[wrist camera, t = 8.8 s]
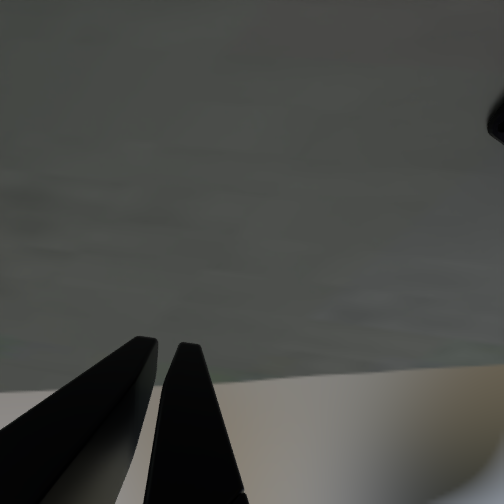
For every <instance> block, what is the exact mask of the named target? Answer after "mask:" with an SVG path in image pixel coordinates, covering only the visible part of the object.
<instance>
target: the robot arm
mask: <svg viewBox="0 0 504 504" xmlns="http://www.w3.org/2000/svg"><path fill="white" fill-rule="evenodd" d="M502 121H503V122H504V104H503V105H502V107H501V108H500V109H499V110H498V112H497V113H496V114H495V115H494V116H493V118H492V119H491V120H490V122H489V124H488V127H487V130H488V133H489V134H490V135H491V136H492V137H493V138H495V139H496V140H498V141H499V142H500V143H502V144H503V145H504V127H503V129H502V130H501V131H498V125H499V124H500V123H501V122H502ZM157 357H158V341H157V339H156V338H151V337H144V336H137V337H134V338H133V339H132V340H130V341H129V342H127V343H126V344H124V345H123V346H121V347H120V348H118V349H117V350H116V351H114V352H113V353H111V354H110V355H108V356H107V357H105V358H104V359H103V360H101V361H100V362H98V363H97V364H95V365H94V366H92V367H91V368H89V369H88V370H87V371H85V372H84V373H82V374H81V375H79V376H78V377H76V378H75V379H74V380H72V381H71V382H69V383H68V384H66V385H65V386H63V387H62V388H60V389H59V390H58V391H56V392H55V393H53V394H52V395H50V396H49V397H48V398H46V399H45V400H43V401H42V402H40V403H39V404H37V405H36V406H34V407H33V408H32V409H30V410H29V411H27V412H26V413H24V414H23V415H21V416H20V417H18V418H17V419H16V420H14V421H13V422H11V423H10V424H8V425H7V426H5V427H4V428H2V429H1V430H0V504H115V502H116V499H117V497H118V494H119V492H120V489H121V487H122V484H123V482H124V480H125V477H126V475H127V472H128V469H129V467H130V464H131V461H132V459H133V456H134V453H135V450H136V446H137V443H138V439H139V436H140V432H141V429H142V425H143V422H144V418H145V415H146V411H147V408H148V404H149V401H150V397H151V394H152V390H153V386H154V383H155V379H156V372H157ZM143 504H249V502H248V498H247V495H246V494H245V493H244V486H243V483H242V480H241V476H240V473H239V470H238V467H237V463H236V460H235V457H234V454H233V450H232V447H231V444H230V440H229V437H228V434H227V430H226V427H225V424H224V420H223V417H222V414H221V411H220V407H219V404H218V401H217V398H216V394H215V391H214V388H213V384H212V381H211V378H210V375H209V371H208V368H207V365H206V361H205V358H204V355H203V352H202V348H201V346H200V345H199V344H193V343H186V342H182V343H180V344H179V345H178V348H177V350H176V353H175V355H174V358H173V360H172V363H171V365H170V368H169V370H168V373H167V375H166V378H165V381H164V384H163V387H162V392H161V398H160V404H159V410H158V416H157V422H156V428H155V434H154V441H153V447H152V453H151V459H150V465H149V471H148V478H147V483H146V490H145V496H144V502H143Z"/></svg>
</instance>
